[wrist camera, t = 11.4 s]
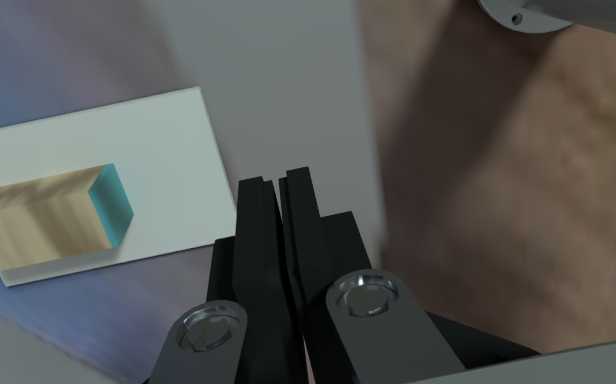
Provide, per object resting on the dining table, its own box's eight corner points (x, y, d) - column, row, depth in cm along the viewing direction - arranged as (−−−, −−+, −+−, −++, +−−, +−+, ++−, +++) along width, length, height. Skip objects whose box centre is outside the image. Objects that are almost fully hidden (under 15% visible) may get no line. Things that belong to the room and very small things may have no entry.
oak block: (95, 190, 36) (-39, 218, 36) (120, 245, 38) (-6, 272, 38) (113, 162, 40) (-6, 187, 40) (134, 214, 43) (21, 238, 43)
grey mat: (199, 85, 39) (199, 88, 38) (242, 232, 46) (242, 237, 45) (-72, 142, 39) (-78, 146, 38) (10, 281, 46) (6, 286, 45)
